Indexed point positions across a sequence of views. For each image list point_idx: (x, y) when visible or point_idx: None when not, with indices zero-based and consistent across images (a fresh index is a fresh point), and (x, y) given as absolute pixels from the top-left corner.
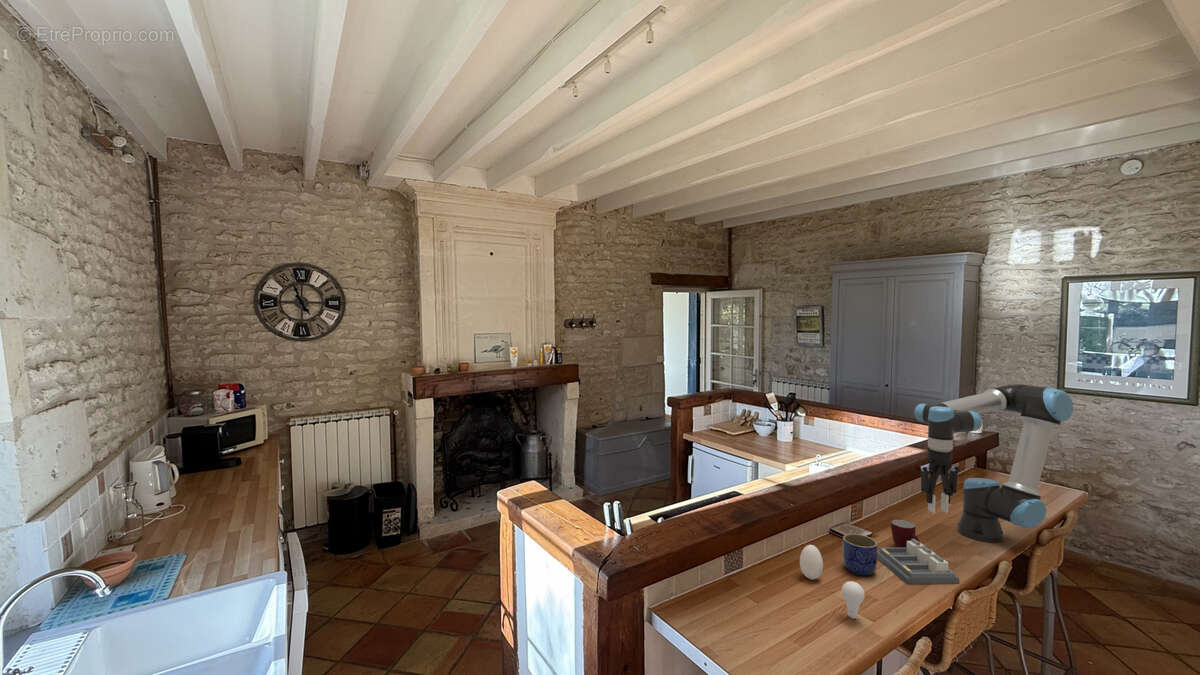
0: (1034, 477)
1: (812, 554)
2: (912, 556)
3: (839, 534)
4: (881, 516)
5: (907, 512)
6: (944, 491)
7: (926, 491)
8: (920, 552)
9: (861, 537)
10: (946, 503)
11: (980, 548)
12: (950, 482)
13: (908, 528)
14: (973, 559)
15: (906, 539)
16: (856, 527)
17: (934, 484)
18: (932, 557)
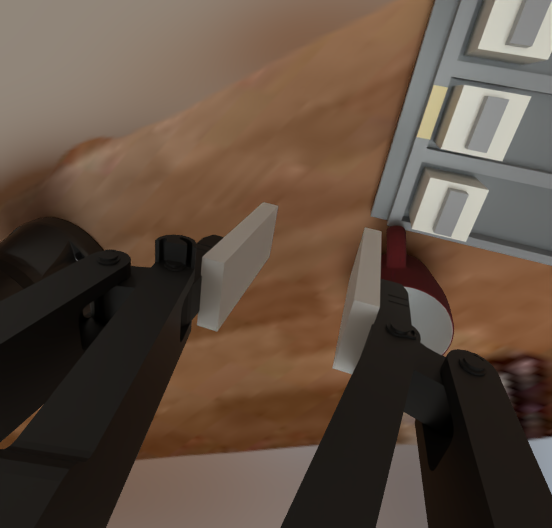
0: None
1: None
2: (506, 165)
3: (524, 418)
4: (261, 434)
5: (169, 420)
6: (188, 324)
7: (484, 374)
8: (511, 134)
9: None
10: (252, 231)
11: (126, 202)
12: (49, 371)
13: (420, 288)
14: (205, 144)
15: (420, 267)
16: (406, 424)
17: (359, 420)
18: (532, 49)
